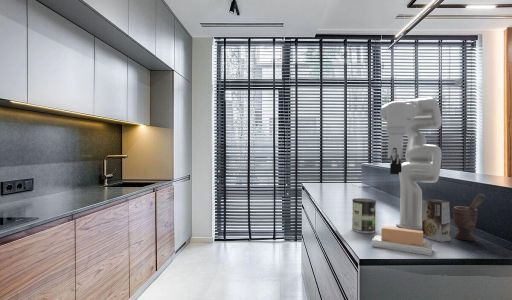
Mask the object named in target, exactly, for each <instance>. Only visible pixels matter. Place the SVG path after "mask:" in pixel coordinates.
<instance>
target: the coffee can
mask: <svg viewBox="0 0 512 300" xmlns="http://www.w3.org/2000/svg"><path fill="white" fill-rule="evenodd" d="M351 201H352V215H351V216H352V218H351V219H352V221H351V222H352V227H351V230H352V231H353V232H357V233H360V234H361V233H362V234H374V233H376V207H377V206H376V205H377V200H375V199H372V198H363V197H362V198H361V197H359V198H358V197H357V198H352V199H351Z"/></svg>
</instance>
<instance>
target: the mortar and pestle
mask: <svg viewBox="0 0 512 300" xmlns="http://www.w3.org/2000/svg"><path fill="white" fill-rule="evenodd" d="M485 199H486V195H484V194H483V193H478V194H477V196H476V197H474V199H473V201H472V202H471V204H470V205H469V206H463V205H461V206H460V205H457V206H456V205H455V206H453V210H452V212H453V213H452V215H453V217H452V218H453V219H452V220H453V222H454V226H455V227H456V228H457V229H458V231H456V232H455V233H454V234H453V237H454V238H455V239H457V240H460V241H469V242H471V241H472V242H474V241H475V240H476V239H475V236H474V235H473V234H472V230H473V229H475V227H476V224H477V221H478V209H477V208H478V206H479V205H481V204H482V203H483V202H484V201H485Z"/></svg>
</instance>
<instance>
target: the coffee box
mask: <svg viewBox="0 0 512 300" xmlns="http://www.w3.org/2000/svg"><path fill="white" fill-rule="evenodd" d="M451 215H452V201H447V200H440V199H435V198H434V199H432V198H427V199H422V230H421V231H423V238H426V239H429V240H432V241H433V240H434V241H437V242H439V243H440V242H441V243H443V242H451V240H452V239H451V238H452V237H451V235H452V234H451V233H452V231H451V227H452V225H451V223H452V222H451V220H452V216H451Z"/></svg>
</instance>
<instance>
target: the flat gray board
mask: <svg viewBox="0 0 512 300" xmlns="http://www.w3.org/2000/svg"><path fill="white" fill-rule="evenodd" d="M371 247H373V248H374V247H375V248H380V249H386V250H393V251H400V252H404V253H405V252H406V253H411V252H412V254H413V253H414V254H417V253H418V255H425V256H430V257H431V256H432V255H433V254H432V253H433V243H432V242H427V241H423V246H421V245H420V246H419V245H413V244H407V243H400V242H393V241H385V240H381V235H377V234H375V235H374V237H373V238H372V239H371Z"/></svg>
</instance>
